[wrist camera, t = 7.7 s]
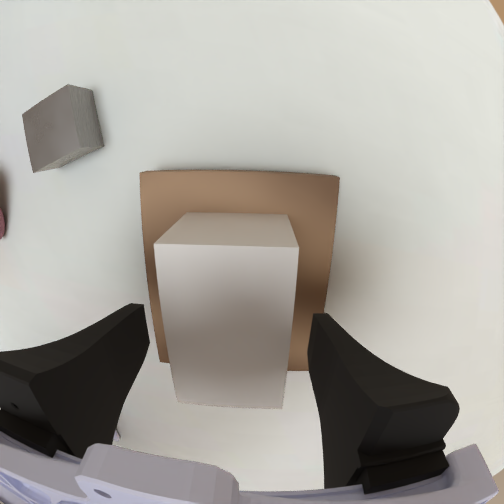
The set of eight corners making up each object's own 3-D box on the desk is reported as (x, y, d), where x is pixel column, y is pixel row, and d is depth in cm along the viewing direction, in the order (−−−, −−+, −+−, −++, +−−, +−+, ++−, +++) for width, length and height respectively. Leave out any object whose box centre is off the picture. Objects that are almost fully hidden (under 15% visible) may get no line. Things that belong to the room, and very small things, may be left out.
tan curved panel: (308, 347, 20) (312, 370, 18) (169, 340, 21) (159, 361, 18) (328, 173, 16) (339, 177, 14) (155, 168, 17) (139, 172, 14)
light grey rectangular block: (287, 214, 15) (299, 247, 10) (278, 346, 17) (281, 408, 13) (186, 212, 15) (153, 243, 10) (195, 343, 18) (177, 402, 13)
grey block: (105, 146, 16) (79, 147, 13) (60, 167, 17) (33, 172, 14) (93, 90, 15) (67, 84, 12) (49, 115, 15) (22, 114, 13)
